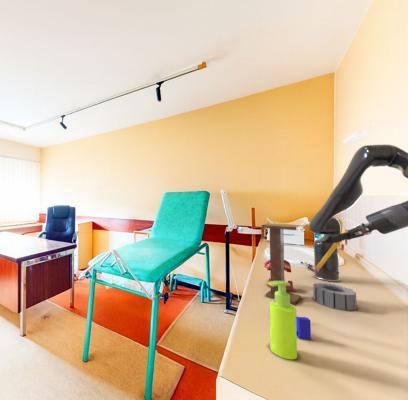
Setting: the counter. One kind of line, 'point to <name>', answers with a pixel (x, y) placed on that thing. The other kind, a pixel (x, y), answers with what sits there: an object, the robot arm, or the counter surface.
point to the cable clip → (303, 328)
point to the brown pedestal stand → (279, 257)
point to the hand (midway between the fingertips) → (332, 240)
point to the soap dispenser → (283, 323)
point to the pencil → (328, 254)
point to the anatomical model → (287, 268)
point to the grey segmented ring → (334, 296)
